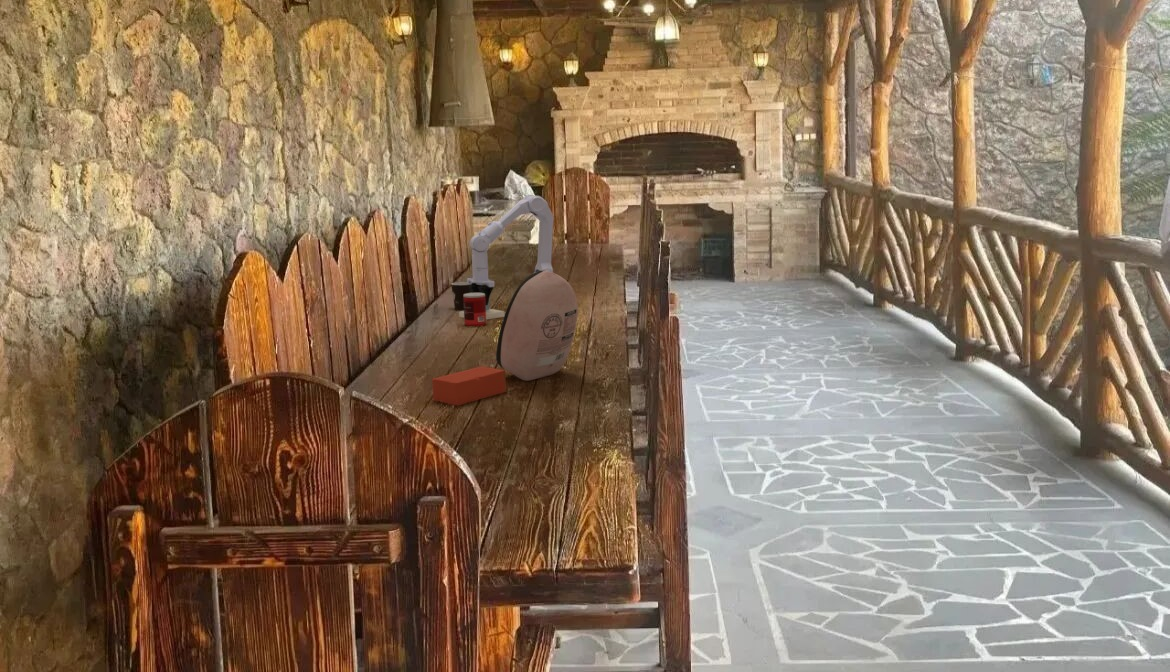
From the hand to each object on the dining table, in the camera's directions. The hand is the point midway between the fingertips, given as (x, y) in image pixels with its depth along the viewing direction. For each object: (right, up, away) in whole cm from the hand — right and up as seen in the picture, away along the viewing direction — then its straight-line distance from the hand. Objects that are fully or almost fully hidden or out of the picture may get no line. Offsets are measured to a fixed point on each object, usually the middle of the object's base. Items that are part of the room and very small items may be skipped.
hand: (481, 304), depth 392 cm
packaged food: (+26, -23, -99) cm, 105 cm away
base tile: (0, -5, +1) cm, 5 cm away
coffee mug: (-9, -1, +21) cm, 23 cm away
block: (0, -2, +1) cm, 2 cm away
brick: (+9, -28, -118) cm, 121 cm away
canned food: (-1, -8, -15) cm, 17 cm away
